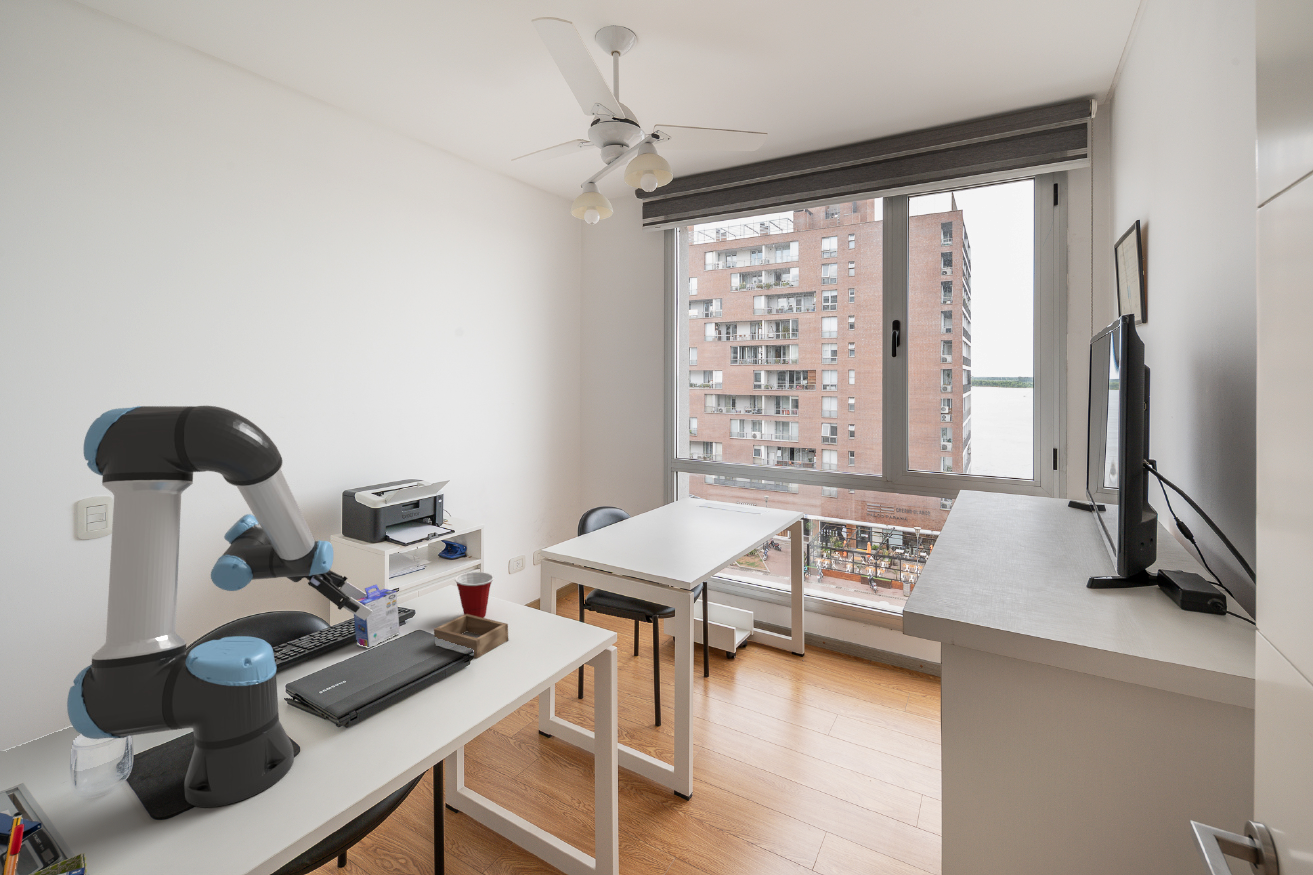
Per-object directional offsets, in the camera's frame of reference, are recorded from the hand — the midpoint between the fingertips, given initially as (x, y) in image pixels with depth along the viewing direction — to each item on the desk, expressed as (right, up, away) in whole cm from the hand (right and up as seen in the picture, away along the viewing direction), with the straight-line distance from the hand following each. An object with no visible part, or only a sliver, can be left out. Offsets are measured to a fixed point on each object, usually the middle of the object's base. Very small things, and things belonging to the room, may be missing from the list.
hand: (365, 606), depth 148 cm
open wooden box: (+28, -9, -1) cm, 30 cm away
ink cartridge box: (+2, -10, +2) cm, 10 cm away
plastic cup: (+24, -8, +17) cm, 30 cm away
